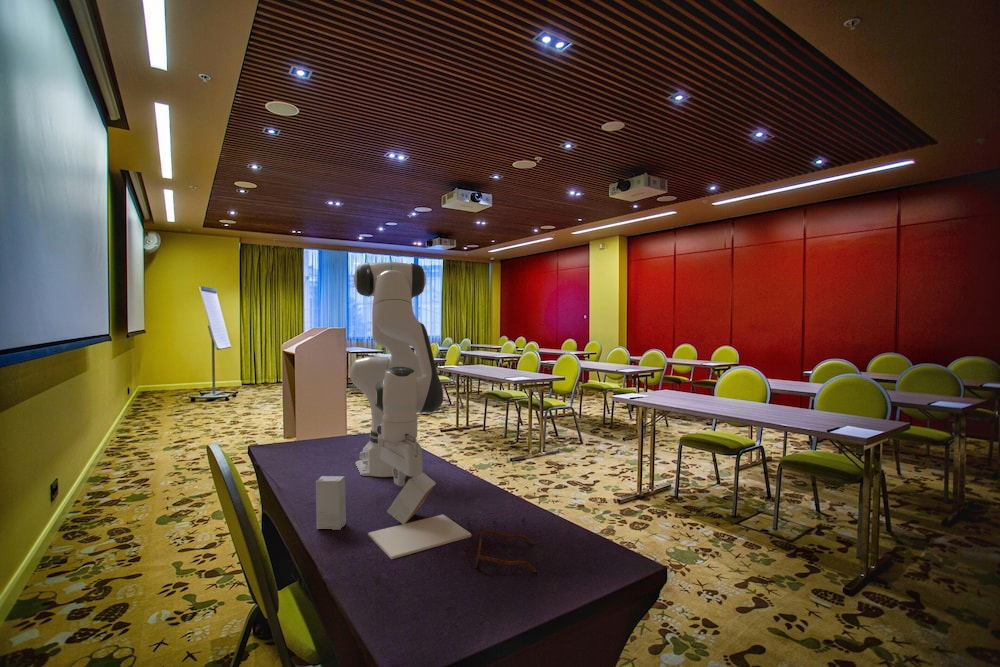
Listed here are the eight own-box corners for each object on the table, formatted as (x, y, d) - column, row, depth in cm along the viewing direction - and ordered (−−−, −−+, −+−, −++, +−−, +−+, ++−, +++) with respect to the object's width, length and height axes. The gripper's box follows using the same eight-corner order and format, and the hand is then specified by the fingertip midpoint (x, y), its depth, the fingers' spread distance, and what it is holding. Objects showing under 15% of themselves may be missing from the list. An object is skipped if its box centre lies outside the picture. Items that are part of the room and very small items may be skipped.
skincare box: (346, 523, 119) (346, 475, 119) (340, 531, 114) (340, 481, 114) (321, 523, 119) (322, 474, 119) (314, 530, 114) (315, 480, 114)
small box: (403, 526, 118) (426, 493, 116) (386, 511, 119) (408, 478, 117) (415, 514, 125) (437, 483, 124) (399, 500, 126) (420, 469, 125)
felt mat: (368, 535, 112) (368, 532, 112) (443, 516, 124) (443, 514, 124) (391, 559, 101) (391, 556, 101) (471, 536, 112) (471, 534, 112)
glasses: (478, 544, 110) (479, 522, 109) (535, 545, 109) (535, 524, 109) (474, 573, 96) (474, 549, 96) (538, 575, 96) (538, 551, 96)
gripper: (429, 437, 115) (428, 494, 115) (395, 423, 132) (395, 472, 132) (405, 440, 111) (404, 499, 112) (373, 425, 128) (373, 476, 128)
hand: (399, 484), depth 122 cm, fingers closed
